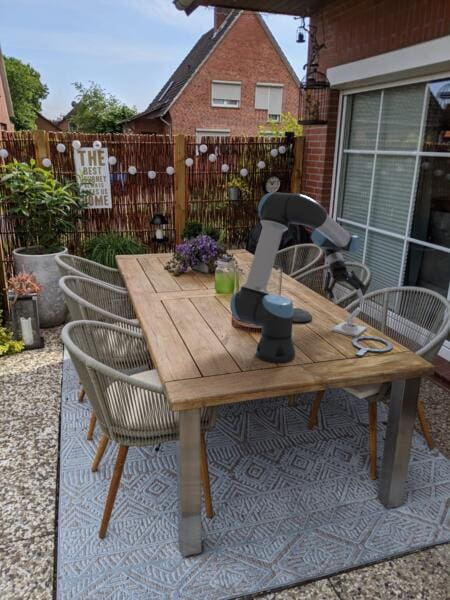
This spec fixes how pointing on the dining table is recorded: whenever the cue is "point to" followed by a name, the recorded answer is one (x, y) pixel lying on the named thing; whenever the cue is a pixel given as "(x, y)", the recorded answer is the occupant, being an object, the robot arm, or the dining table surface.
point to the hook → (351, 322)
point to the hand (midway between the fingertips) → (349, 303)
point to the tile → (352, 333)
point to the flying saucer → (301, 315)
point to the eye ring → (364, 350)
